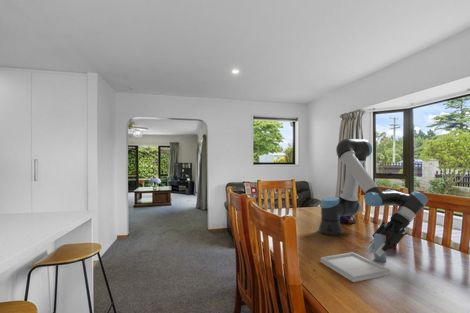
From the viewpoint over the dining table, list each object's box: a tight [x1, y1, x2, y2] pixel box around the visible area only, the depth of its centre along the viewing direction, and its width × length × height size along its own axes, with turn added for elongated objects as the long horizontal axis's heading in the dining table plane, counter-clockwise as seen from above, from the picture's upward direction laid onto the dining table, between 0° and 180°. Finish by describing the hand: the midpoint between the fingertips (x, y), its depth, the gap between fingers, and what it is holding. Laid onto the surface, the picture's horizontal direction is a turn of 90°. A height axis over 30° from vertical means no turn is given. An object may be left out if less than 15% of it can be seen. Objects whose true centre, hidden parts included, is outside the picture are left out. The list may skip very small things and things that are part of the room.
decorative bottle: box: [339, 189, 357, 224], centre depth 188 cm, size 22×21×25 cm
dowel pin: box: [373, 233, 387, 263], centre depth 115 cm, size 5×5×12 cm
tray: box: [320, 251, 391, 283], centre depth 107 cm, size 20×20×2 cm
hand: (373, 252), depth 115 cm, fingers closed on dowel pin, 5 cm apart
